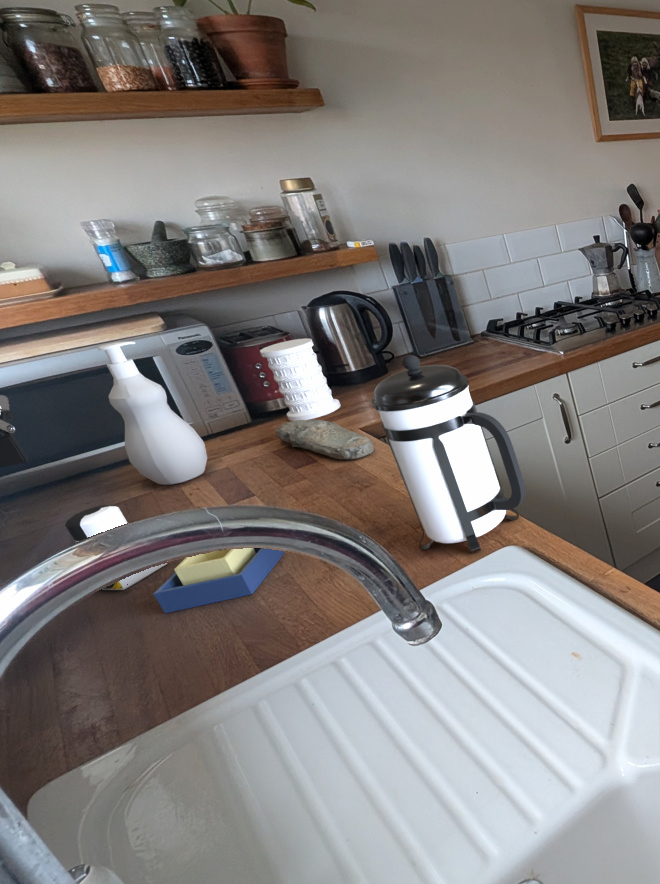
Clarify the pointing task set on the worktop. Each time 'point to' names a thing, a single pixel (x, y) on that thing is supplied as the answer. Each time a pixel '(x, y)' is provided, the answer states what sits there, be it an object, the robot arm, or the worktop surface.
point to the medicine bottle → (99, 522)
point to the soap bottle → (152, 425)
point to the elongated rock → (325, 439)
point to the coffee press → (446, 453)
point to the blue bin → (217, 584)
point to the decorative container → (300, 379)
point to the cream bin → (213, 565)
